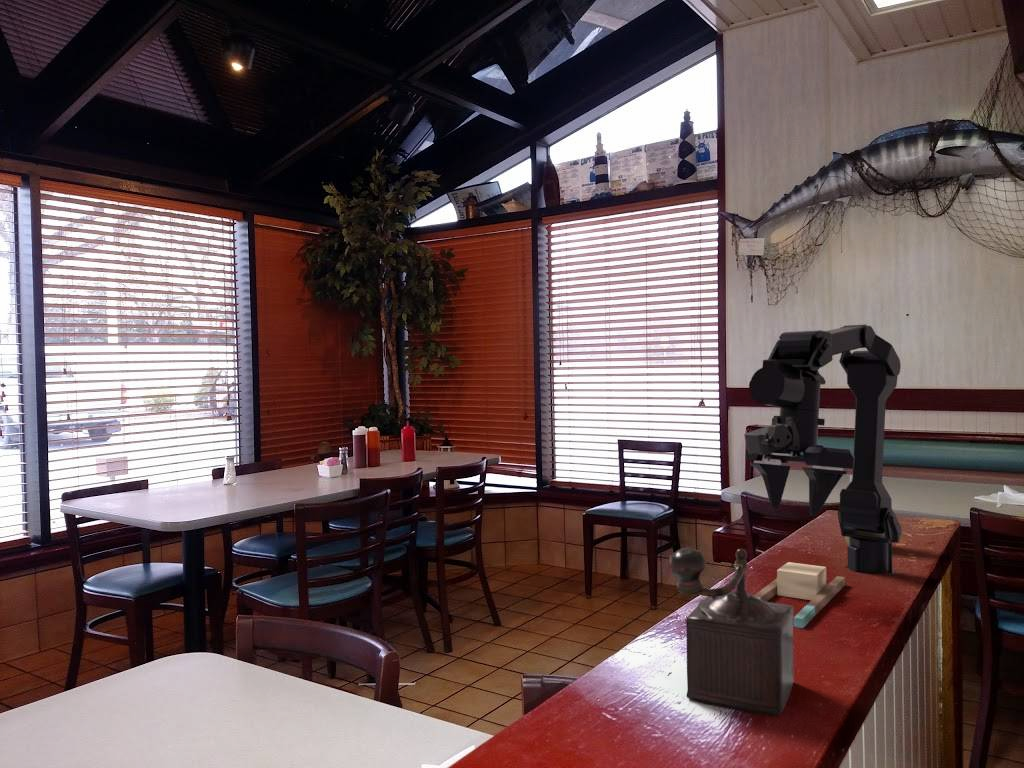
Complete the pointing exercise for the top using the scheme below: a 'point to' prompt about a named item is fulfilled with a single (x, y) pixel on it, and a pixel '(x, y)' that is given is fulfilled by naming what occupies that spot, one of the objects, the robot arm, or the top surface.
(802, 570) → the block
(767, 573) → the top surface
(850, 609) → the top surface
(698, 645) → the dark manual coffee grinder
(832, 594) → the chute
